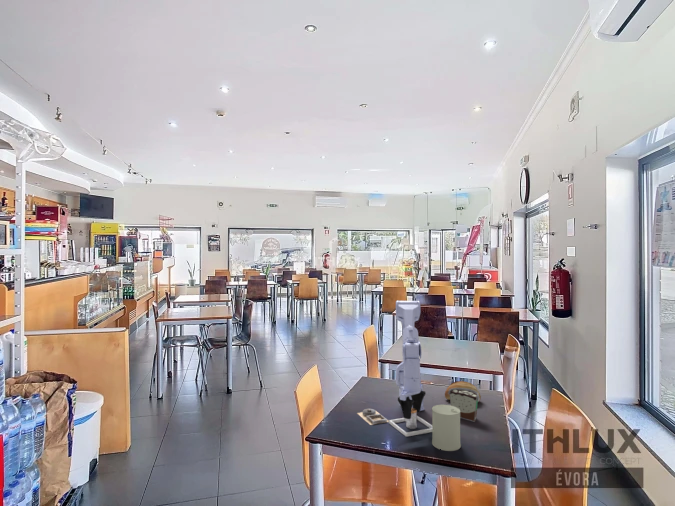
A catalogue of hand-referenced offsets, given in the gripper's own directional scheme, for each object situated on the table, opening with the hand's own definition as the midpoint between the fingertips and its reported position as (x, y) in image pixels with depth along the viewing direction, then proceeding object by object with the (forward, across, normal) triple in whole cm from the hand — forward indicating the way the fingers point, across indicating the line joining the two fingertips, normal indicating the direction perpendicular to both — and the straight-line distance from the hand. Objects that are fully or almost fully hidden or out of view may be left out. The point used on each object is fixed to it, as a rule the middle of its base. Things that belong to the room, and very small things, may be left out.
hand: (411, 414), depth 144 cm
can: (+6, +3, +14) cm, 15 cm away
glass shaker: (+5, 0, 0) cm, 5 cm away
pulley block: (+6, +1, -16) cm, 17 cm away
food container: (+6, -25, +11) cm, 28 cm away
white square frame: (+6, 0, 0) cm, 6 cm away
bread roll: (+6, -41, +4) cm, 42 cm away
